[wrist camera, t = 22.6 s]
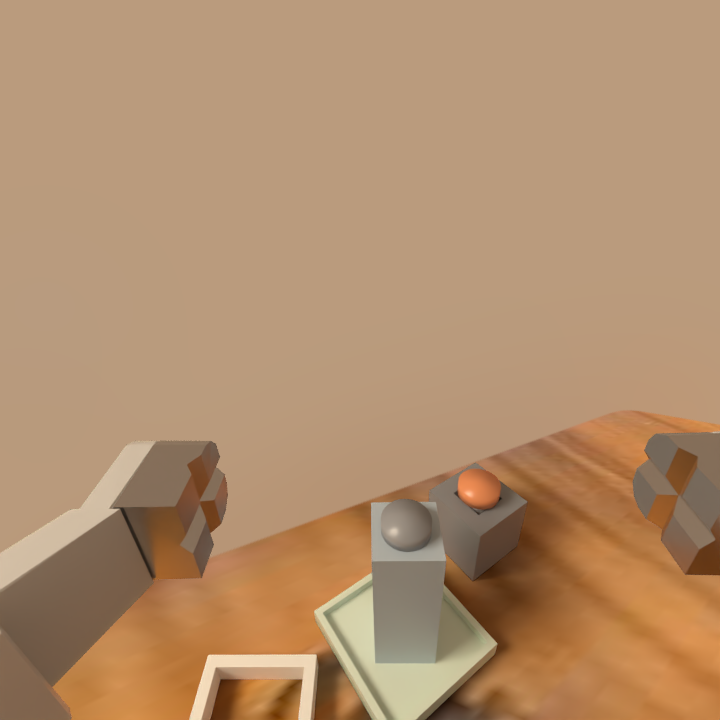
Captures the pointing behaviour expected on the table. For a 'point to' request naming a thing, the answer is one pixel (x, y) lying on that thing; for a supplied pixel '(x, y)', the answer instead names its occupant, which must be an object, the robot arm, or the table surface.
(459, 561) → the button post
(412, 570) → the cartridge
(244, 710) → the table surface
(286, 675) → the socket collar
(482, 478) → the button
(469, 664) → the tray
